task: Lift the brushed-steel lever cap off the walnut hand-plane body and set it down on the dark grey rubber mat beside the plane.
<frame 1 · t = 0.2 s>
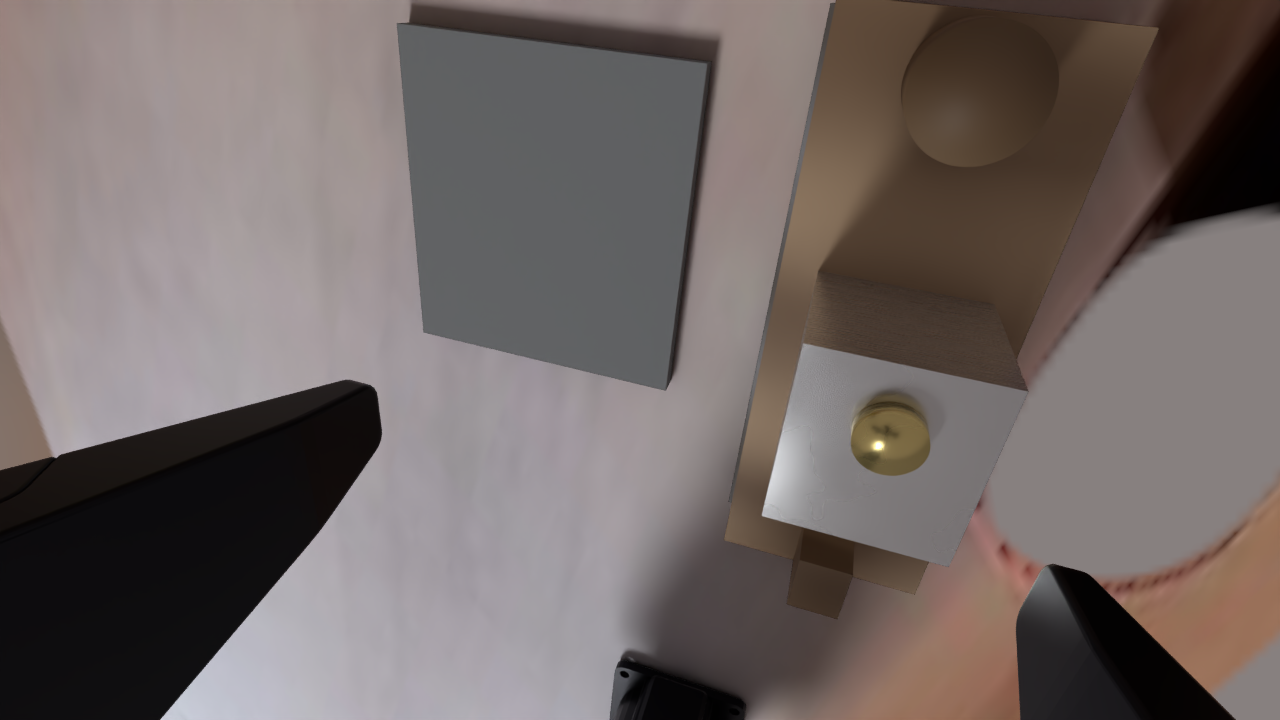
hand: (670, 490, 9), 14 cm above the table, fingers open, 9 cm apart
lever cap: (878, 367, 19), point 3 cm above the table, touching plane body
plane body: (882, 309, 21), on the table
mat: (548, 215, 23), on the table
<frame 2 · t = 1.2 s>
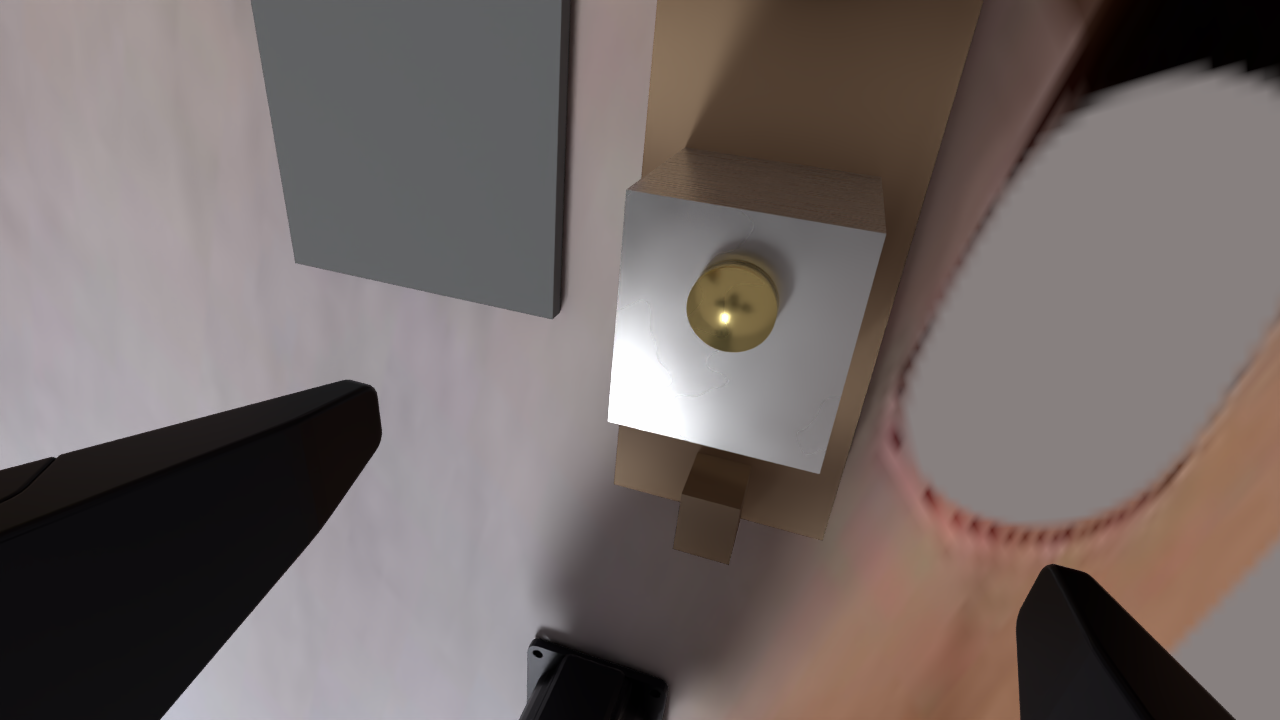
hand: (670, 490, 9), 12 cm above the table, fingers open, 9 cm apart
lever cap: (760, 264, 16), point 3 cm above the table, touching plane body
plane body: (778, 213, 19), on the table
mat: (416, 120, 21), on the table
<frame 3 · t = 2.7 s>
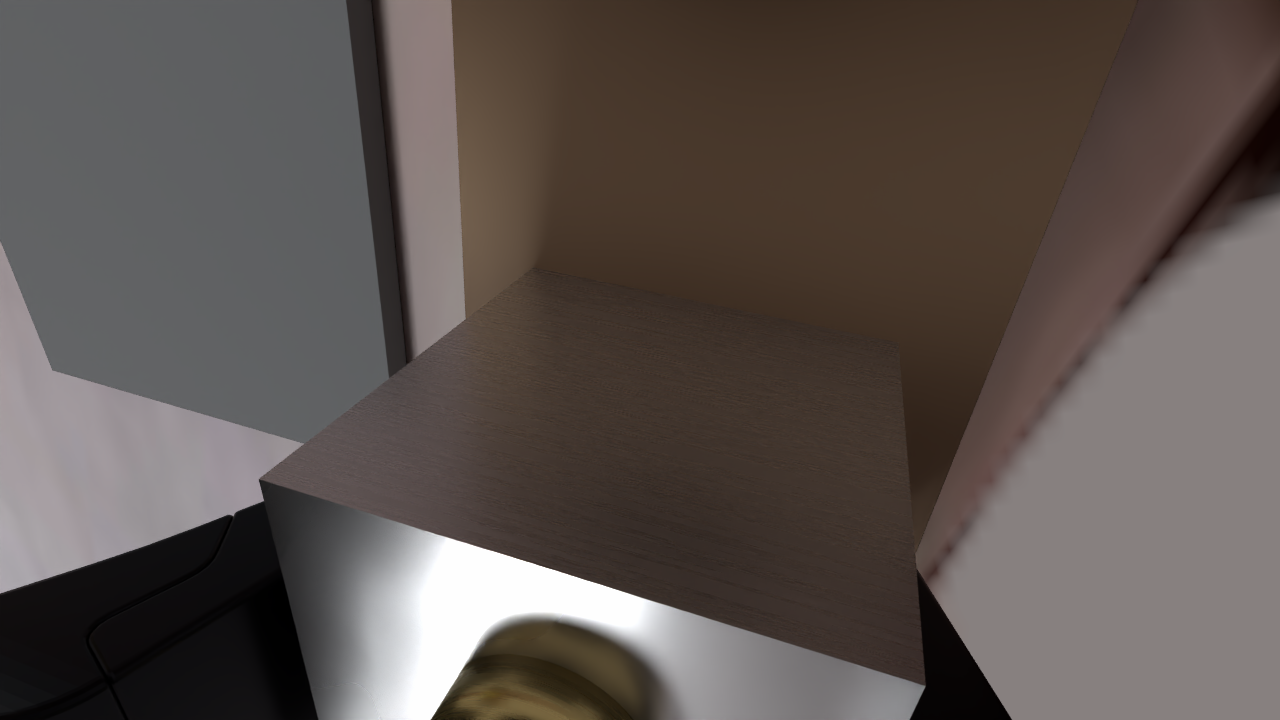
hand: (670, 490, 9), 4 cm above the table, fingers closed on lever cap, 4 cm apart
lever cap: (680, 466, 9), point 3 cm above the table, touching gripper, plane body
plane body: (725, 342, 12), on the table
mat: (177, 178, 13), on the table
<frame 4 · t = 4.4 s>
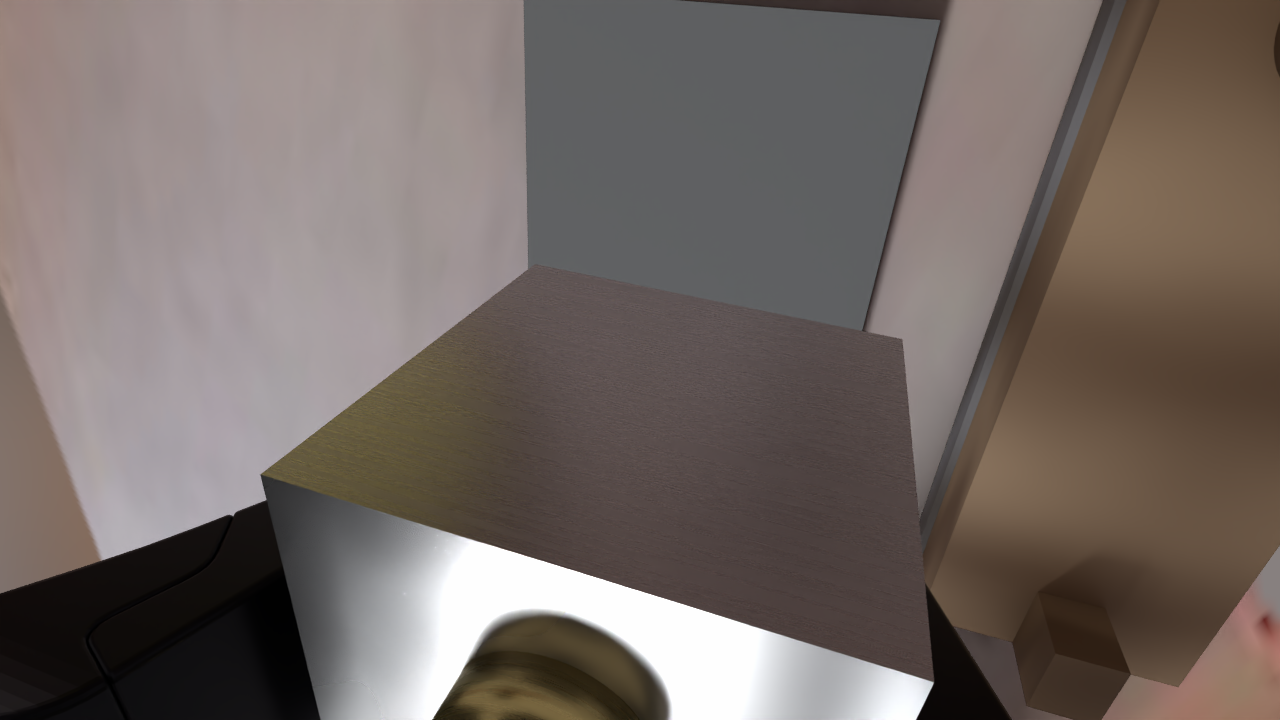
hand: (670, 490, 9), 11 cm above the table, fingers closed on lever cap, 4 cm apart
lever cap: (682, 464, 9), point 11 cm above the table, touching gripper
plane body: (1138, 329, 17), on the table
mat: (697, 222, 19), on the table
when the fingers open (3 cm above the table, at t = 6.5 s): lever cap drops 1 cm, resting on mat.
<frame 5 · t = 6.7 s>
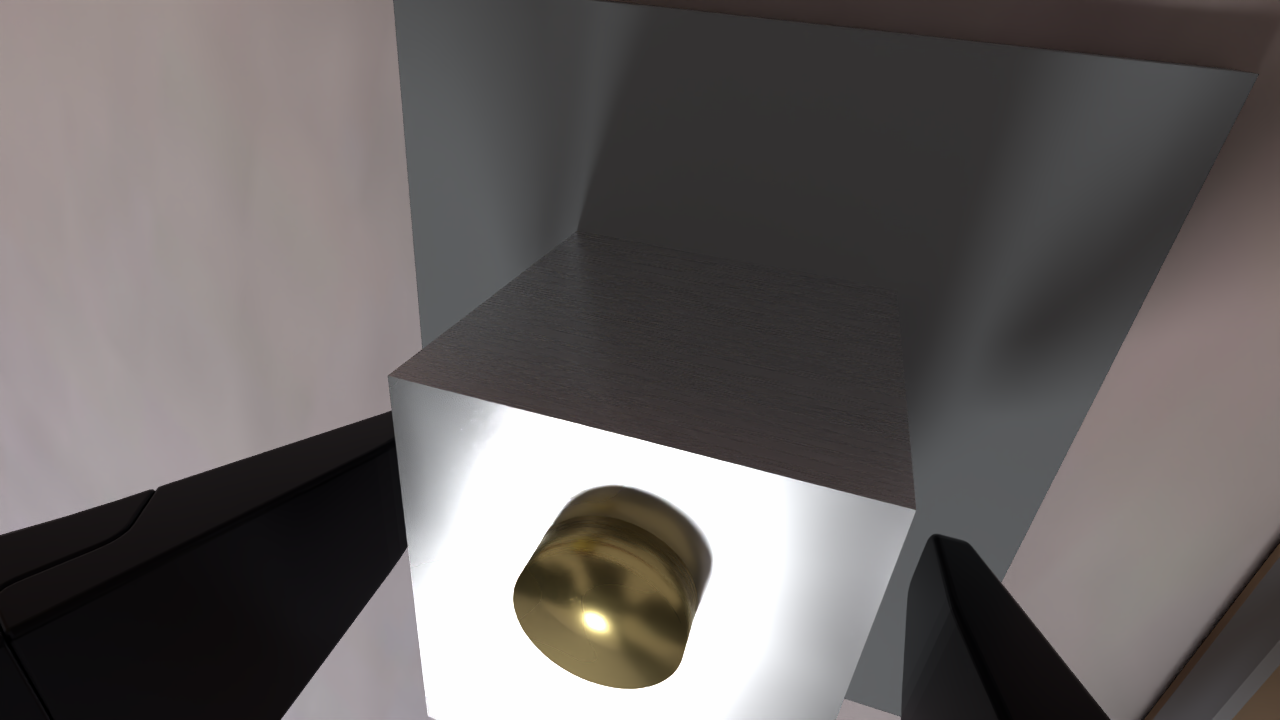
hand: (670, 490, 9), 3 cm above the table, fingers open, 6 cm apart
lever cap: (704, 408, 10), point 1 cm above the table, touching mat
mat: (709, 391, 11), on the table
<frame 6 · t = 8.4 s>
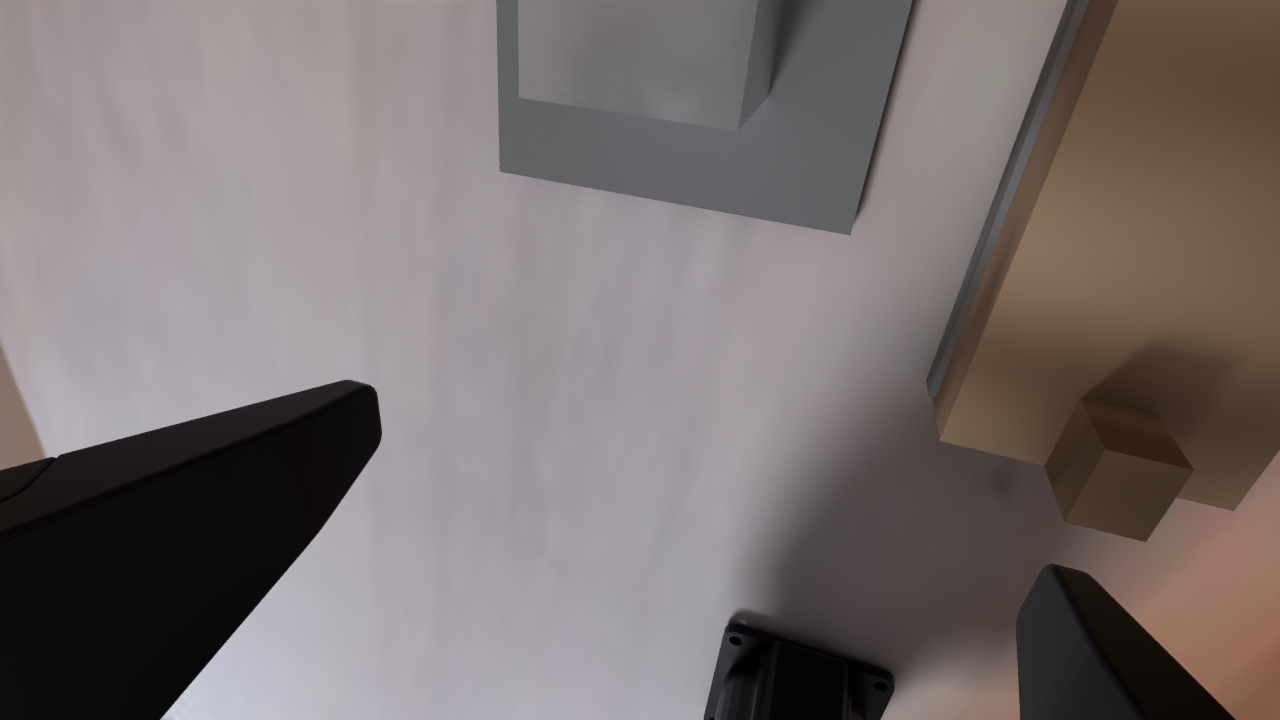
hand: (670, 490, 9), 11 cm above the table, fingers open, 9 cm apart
plane body: (1215, 81, 14), on the table
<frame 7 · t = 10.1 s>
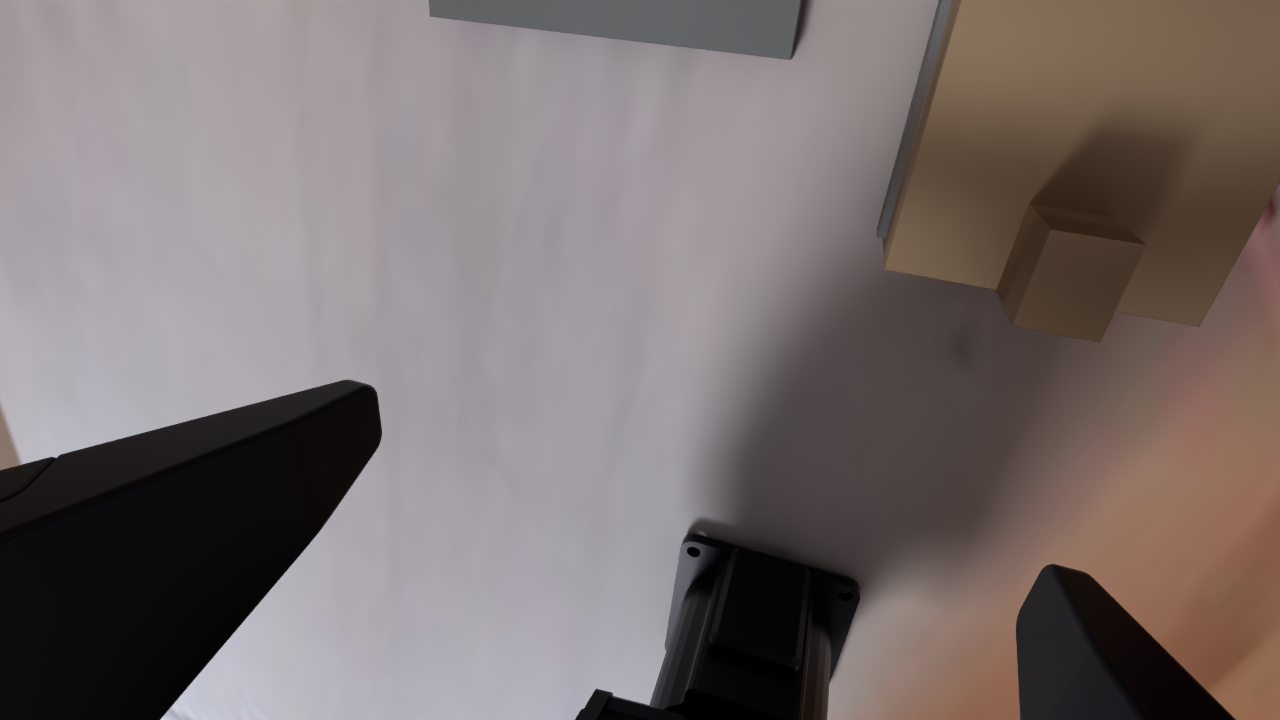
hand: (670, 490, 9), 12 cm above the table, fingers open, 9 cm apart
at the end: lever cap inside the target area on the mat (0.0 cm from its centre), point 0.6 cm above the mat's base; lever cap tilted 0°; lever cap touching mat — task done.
